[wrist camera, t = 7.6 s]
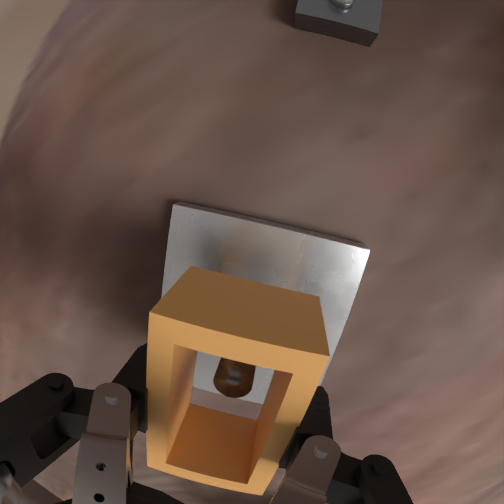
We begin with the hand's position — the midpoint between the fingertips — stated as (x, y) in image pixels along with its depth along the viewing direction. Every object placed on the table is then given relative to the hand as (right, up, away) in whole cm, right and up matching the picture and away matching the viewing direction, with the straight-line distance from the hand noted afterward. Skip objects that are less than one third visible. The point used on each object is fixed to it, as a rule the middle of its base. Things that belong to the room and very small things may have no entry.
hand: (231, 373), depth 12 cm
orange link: (0, 0, +1) cm, 1 cm away
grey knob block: (+5, +18, 0) cm, 18 cm away
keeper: (+1, +1, +5) cm, 6 cm away
